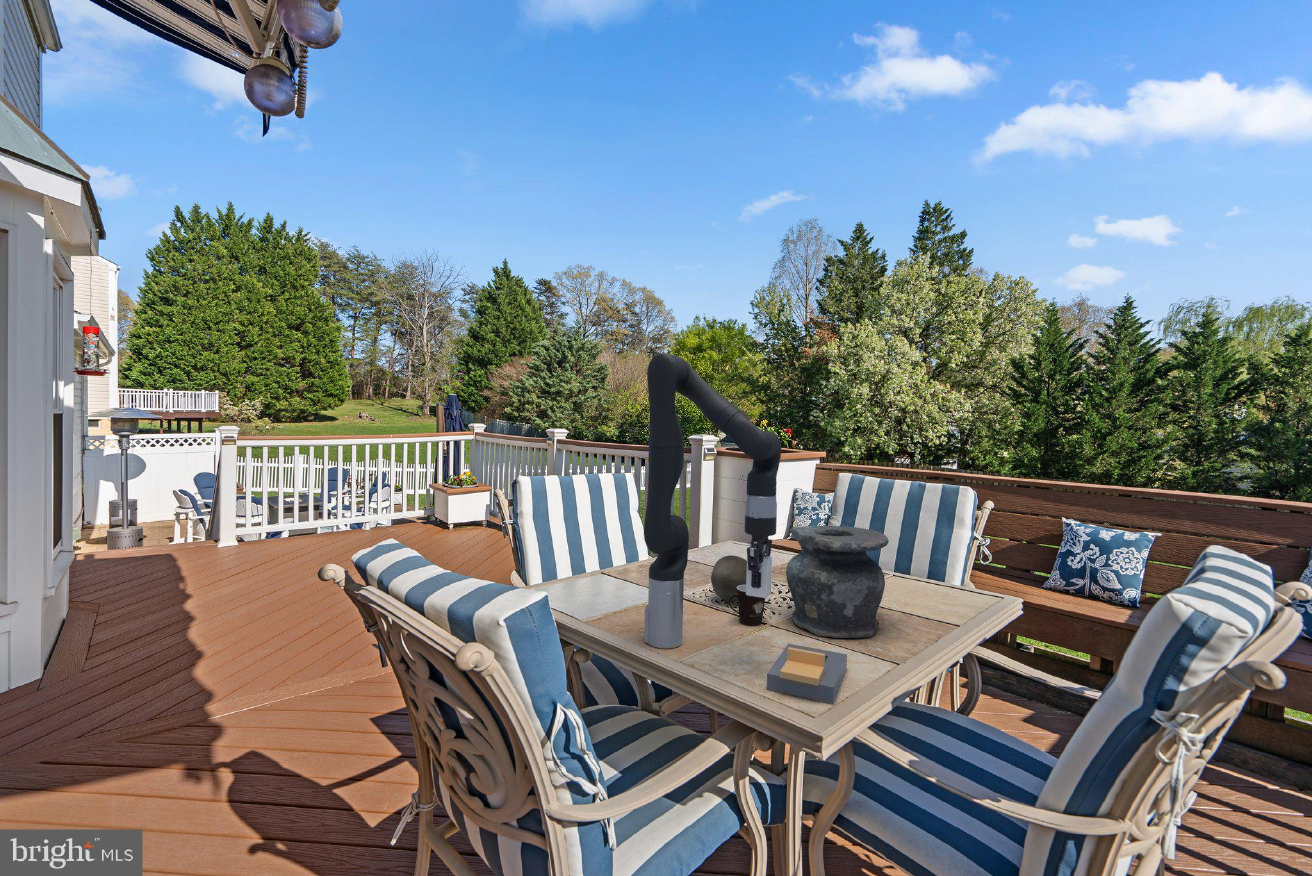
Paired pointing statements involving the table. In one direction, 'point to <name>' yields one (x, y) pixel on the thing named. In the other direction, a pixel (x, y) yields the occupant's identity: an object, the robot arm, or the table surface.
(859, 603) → the clay pot
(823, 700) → the socket plate
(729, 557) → the grey stone ball
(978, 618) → the table surface
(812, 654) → the tan l-shaped block
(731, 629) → the table surface
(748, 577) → the plug
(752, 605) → the coffee mug
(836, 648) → the table surface
